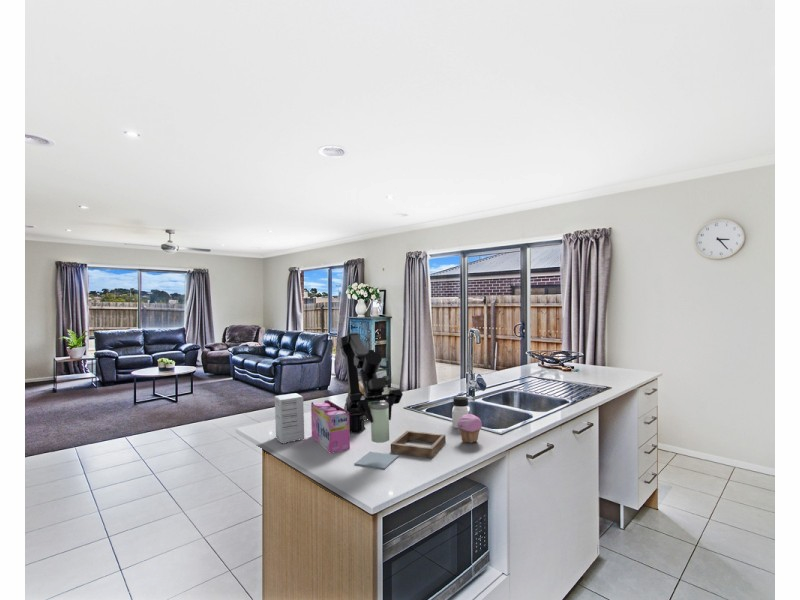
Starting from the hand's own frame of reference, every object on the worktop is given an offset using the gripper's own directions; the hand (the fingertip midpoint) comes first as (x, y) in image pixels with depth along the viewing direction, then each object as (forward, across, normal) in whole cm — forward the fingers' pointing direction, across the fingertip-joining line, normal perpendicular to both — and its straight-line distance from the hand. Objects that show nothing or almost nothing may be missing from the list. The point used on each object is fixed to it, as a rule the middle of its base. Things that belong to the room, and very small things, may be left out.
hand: (381, 420), depth 132 cm
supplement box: (-17, -26, +37) cm, 48 cm away
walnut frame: (+5, +16, +14) cm, 22 cm away
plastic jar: (+4, 0, +6) cm, 7 cm away
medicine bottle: (-6, +43, +25) cm, 50 cm away
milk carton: (-28, +10, +48) cm, 56 cm away
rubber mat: (+9, -1, +10) cm, 14 cm away
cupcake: (+7, +36, +12) cm, 39 cm away
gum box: (-9, -12, +29) cm, 32 cm away
